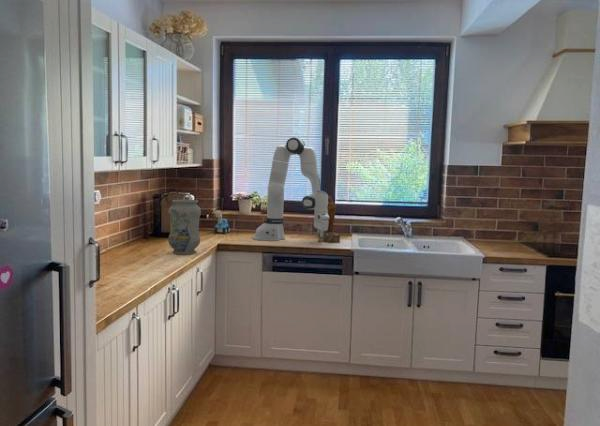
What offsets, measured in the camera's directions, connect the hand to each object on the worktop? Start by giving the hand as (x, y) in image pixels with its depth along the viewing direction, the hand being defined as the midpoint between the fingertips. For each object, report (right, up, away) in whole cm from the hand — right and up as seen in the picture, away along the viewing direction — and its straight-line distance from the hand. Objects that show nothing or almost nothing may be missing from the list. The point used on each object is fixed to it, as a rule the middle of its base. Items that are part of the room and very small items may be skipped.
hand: (320, 235), depth 333 cm
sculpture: (+5, -2, +24) cm, 24 cm away
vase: (-79, -7, -52) cm, 95 cm away
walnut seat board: (+8, -4, +5) cm, 10 cm away
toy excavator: (-71, 0, +24) cm, 75 cm away
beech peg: (0, -4, 0) cm, 4 cm away
